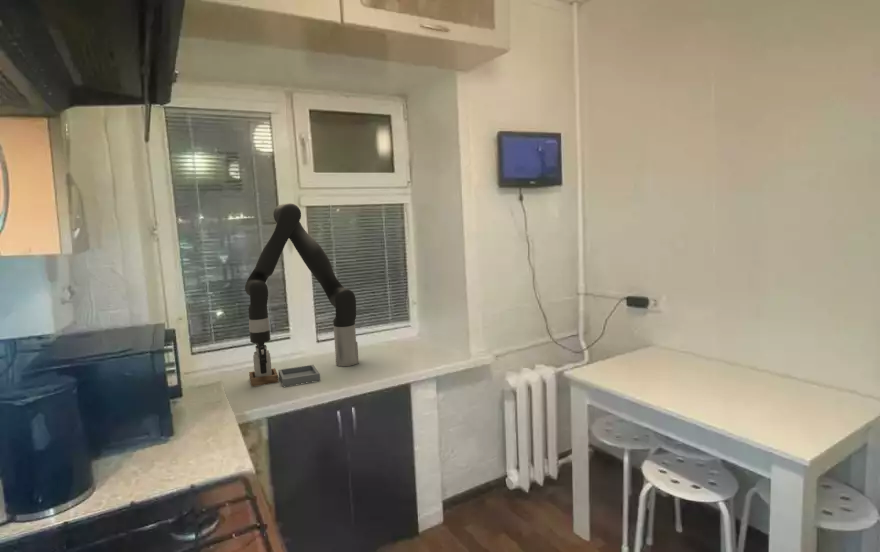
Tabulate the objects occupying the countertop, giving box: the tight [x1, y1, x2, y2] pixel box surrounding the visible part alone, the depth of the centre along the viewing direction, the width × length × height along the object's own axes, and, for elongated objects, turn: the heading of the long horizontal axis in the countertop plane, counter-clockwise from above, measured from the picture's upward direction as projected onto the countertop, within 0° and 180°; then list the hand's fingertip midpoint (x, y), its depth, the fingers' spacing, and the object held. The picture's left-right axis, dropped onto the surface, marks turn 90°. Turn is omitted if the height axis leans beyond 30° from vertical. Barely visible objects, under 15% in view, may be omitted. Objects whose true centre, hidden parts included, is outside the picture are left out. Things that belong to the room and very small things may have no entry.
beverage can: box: [252, 349, 272, 378], centre depth 204 cm, size 6×6×12 cm
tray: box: [278, 364, 321, 388], centre depth 205 cm, size 14×14×3 cm
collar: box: [248, 367, 279, 387], centre depth 204 cm, size 10×10×3 cm
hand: (262, 370), depth 204 cm, fingers closed on beverage can, 5 cm apart
